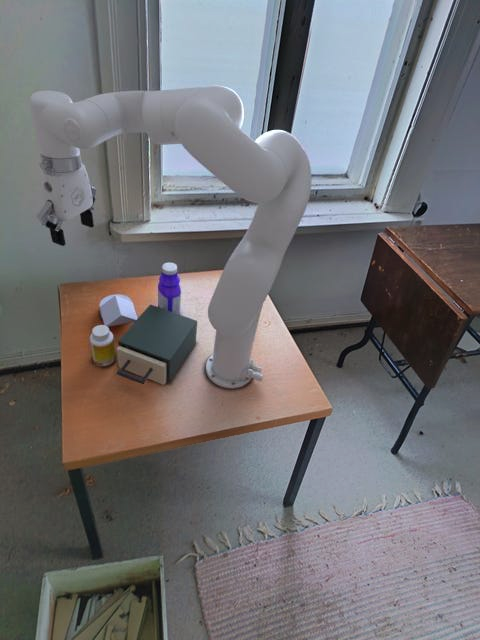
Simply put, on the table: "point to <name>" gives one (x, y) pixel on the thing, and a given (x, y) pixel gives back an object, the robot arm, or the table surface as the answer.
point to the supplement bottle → (102, 345)
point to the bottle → (169, 289)
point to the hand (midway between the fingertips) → (74, 234)
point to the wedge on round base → (117, 310)
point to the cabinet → (162, 337)
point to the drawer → (141, 365)
